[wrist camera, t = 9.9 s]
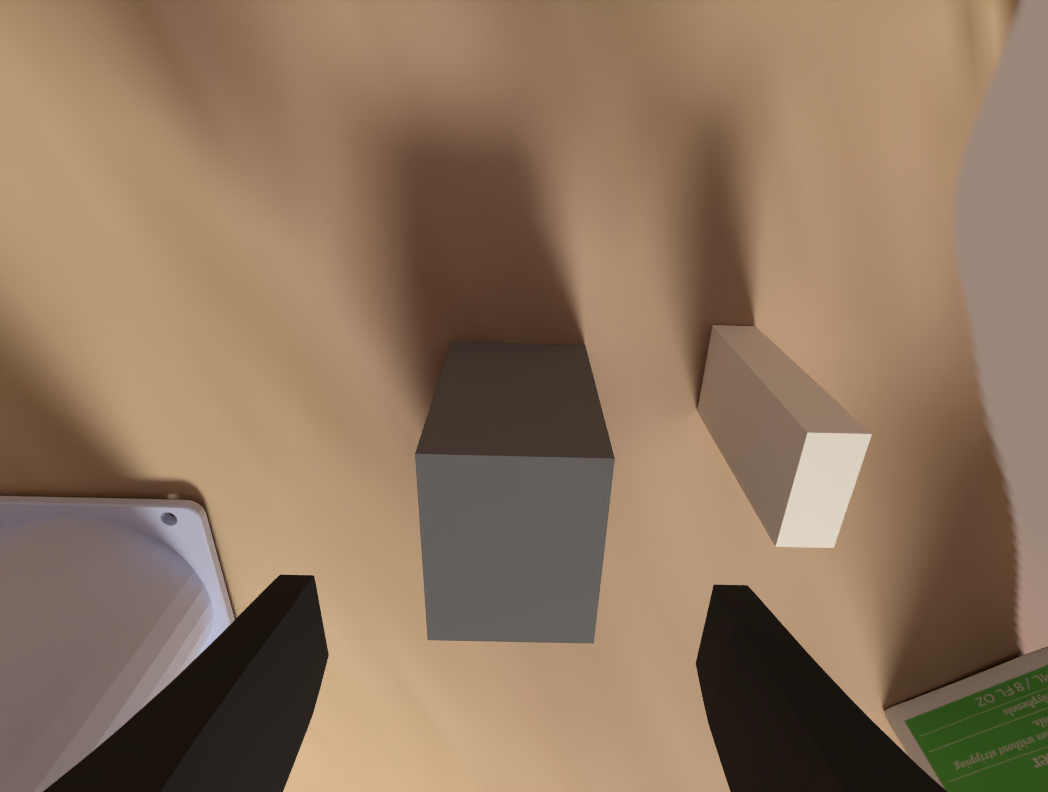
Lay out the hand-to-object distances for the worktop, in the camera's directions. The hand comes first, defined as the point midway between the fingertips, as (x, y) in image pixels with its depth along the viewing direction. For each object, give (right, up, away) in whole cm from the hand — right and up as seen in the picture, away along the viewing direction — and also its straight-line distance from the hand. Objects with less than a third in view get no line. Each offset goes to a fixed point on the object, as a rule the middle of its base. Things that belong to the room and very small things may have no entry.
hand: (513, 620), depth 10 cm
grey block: (0, +3, +7) cm, 8 cm away
